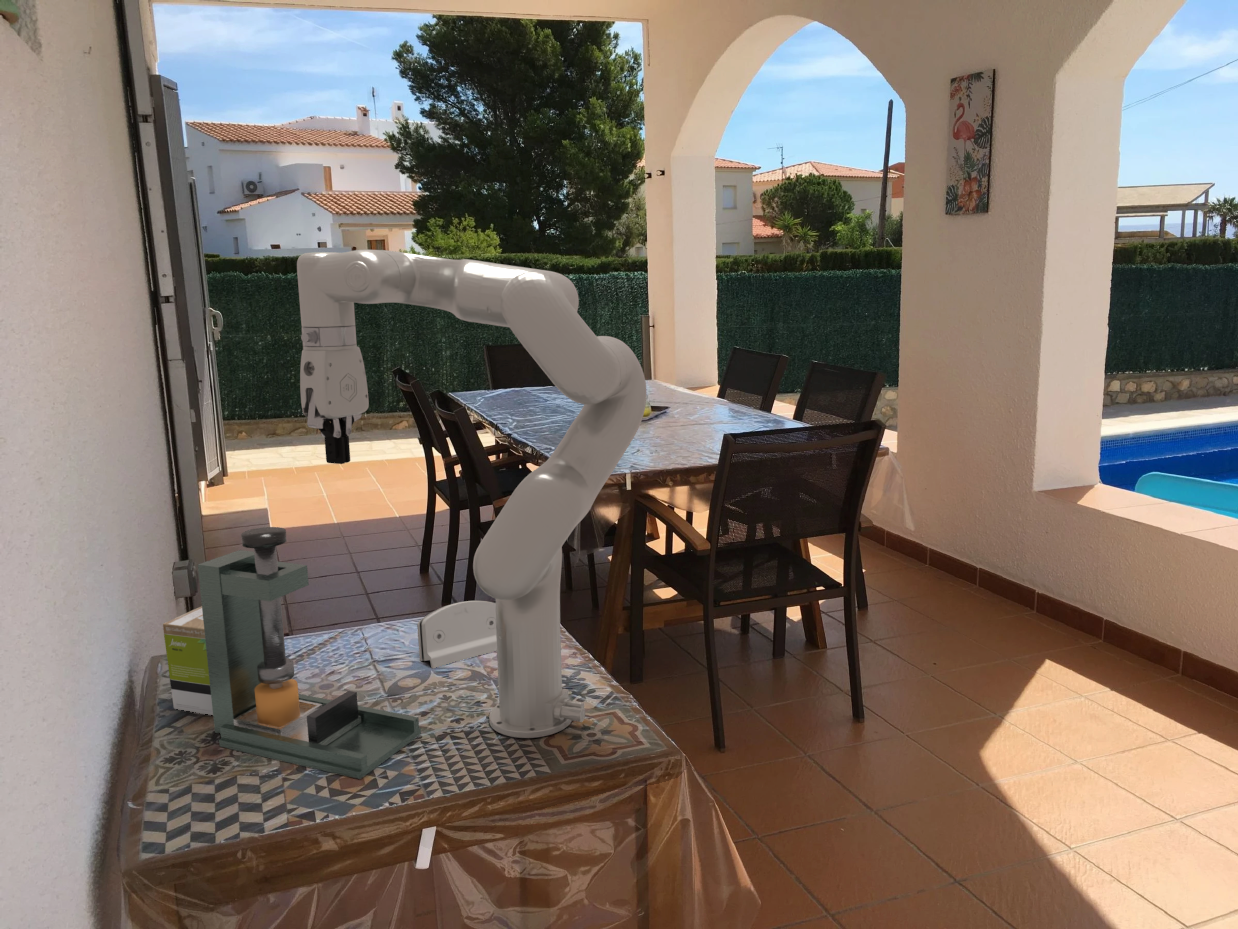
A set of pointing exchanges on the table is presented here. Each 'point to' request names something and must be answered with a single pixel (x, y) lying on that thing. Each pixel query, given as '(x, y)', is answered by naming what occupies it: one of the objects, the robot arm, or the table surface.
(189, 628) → the tea box
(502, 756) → the table surface
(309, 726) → the sliding bed
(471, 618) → the hinge
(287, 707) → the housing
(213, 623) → the press
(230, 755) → the table surface
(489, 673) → the table surface
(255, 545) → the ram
